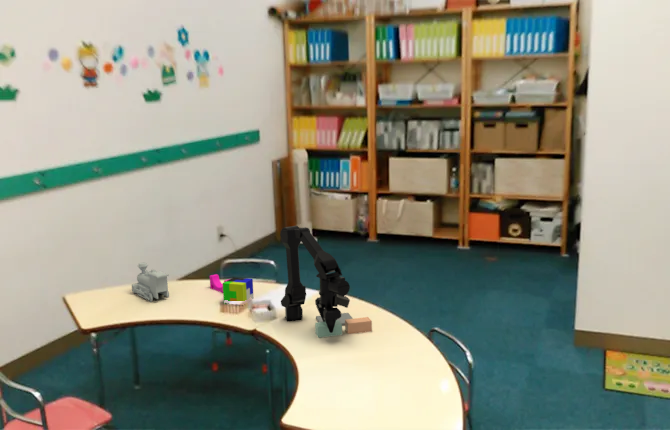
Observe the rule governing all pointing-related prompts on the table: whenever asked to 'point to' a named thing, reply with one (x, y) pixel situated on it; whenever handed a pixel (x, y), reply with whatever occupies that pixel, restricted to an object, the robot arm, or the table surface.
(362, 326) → the terracotta brick
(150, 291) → the toy train
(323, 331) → the teal brick
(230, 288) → the puzzle toy
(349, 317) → the baseplate
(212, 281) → the toy block
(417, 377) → the table surface
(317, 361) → the table surface
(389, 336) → the table surface
